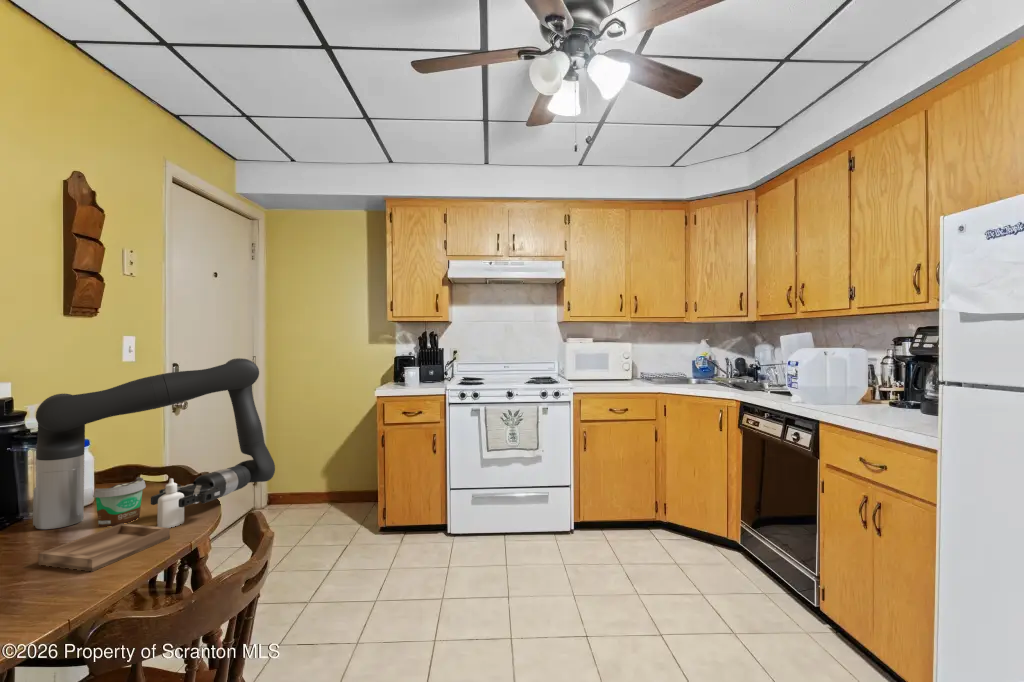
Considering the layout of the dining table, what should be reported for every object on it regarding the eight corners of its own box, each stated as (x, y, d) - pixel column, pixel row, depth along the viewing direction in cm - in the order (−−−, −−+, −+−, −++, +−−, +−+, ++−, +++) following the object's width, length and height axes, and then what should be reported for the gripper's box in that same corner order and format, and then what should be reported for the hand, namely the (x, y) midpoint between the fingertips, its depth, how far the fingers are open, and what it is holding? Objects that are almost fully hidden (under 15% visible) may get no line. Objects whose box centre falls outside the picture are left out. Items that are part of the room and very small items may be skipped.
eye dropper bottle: (183, 526, 127) (184, 479, 127) (156, 530, 124) (157, 482, 125) (184, 521, 131) (184, 475, 131) (158, 525, 128) (158, 478, 128)
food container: (112, 531, 124) (113, 490, 124) (92, 529, 125) (93, 489, 125) (157, 514, 136) (157, 477, 136) (138, 512, 137) (138, 476, 137)
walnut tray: (38, 565, 105) (38, 553, 105) (121, 533, 122) (122, 523, 122) (92, 571, 102) (92, 559, 102) (169, 538, 119) (169, 528, 119)
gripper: (195, 470, 144) (142, 485, 128) (237, 473, 141) (189, 489, 125) (194, 496, 144) (142, 514, 128) (237, 499, 141) (189, 519, 125)
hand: (165, 502), depth 126 cm, fingers open, 8 cm apart
